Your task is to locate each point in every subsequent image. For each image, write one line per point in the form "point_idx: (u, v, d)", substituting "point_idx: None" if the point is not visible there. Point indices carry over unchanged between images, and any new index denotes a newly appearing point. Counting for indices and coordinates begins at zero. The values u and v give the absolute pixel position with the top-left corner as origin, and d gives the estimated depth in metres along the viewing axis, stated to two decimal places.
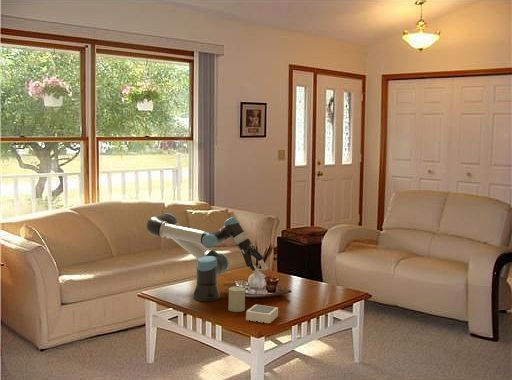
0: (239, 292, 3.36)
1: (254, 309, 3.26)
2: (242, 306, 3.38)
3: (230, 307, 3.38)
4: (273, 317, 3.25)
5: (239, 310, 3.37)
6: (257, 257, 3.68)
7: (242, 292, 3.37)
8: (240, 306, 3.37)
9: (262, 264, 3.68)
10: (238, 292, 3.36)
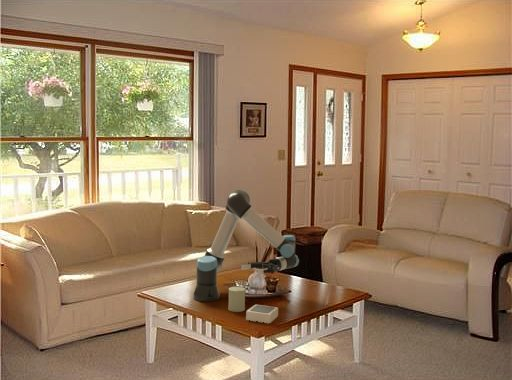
0: (239, 292, 3.36)
1: (254, 309, 3.26)
2: (242, 306, 3.38)
3: (230, 307, 3.38)
4: (273, 317, 3.25)
5: (239, 310, 3.37)
6: (254, 266, 3.56)
7: (242, 292, 3.37)
8: (240, 306, 3.37)
9: (247, 267, 3.53)
10: (238, 292, 3.36)
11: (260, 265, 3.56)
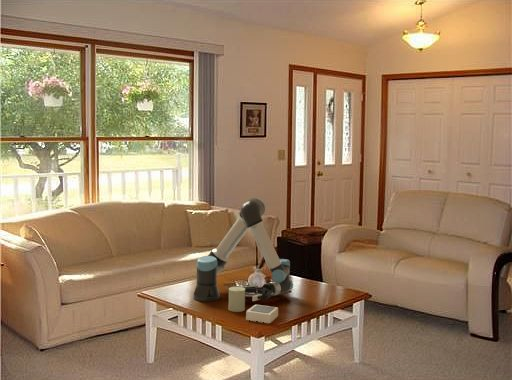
0: (239, 292, 3.36)
1: (254, 309, 3.26)
2: (242, 306, 3.38)
3: (230, 307, 3.38)
4: (273, 317, 3.25)
5: (239, 310, 3.37)
6: (248, 290, 3.54)
7: (242, 292, 3.37)
8: (240, 306, 3.37)
9: None
10: (238, 292, 3.36)
11: (254, 290, 3.54)
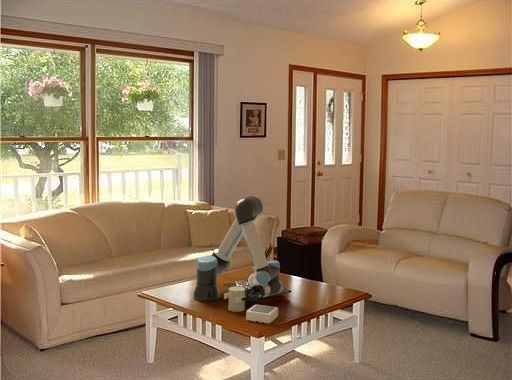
0: (239, 292, 3.36)
1: (254, 309, 3.26)
2: (242, 306, 3.38)
3: (230, 307, 3.38)
4: (273, 317, 3.25)
5: (239, 310, 3.37)
6: None
7: (242, 292, 3.37)
8: (240, 306, 3.37)
9: None
10: (238, 292, 3.36)
11: None
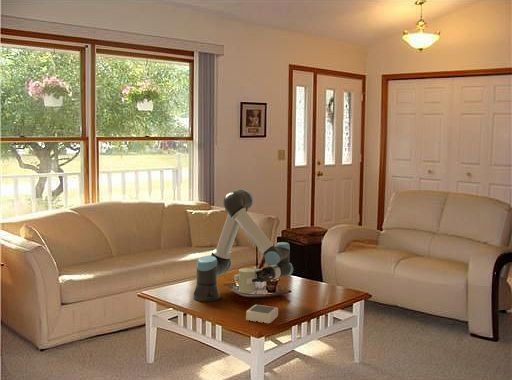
0: (249, 273, 3.31)
1: (254, 309, 3.26)
2: (253, 287, 3.33)
3: (240, 288, 3.33)
4: (273, 317, 3.25)
5: (250, 291, 3.32)
6: None
7: (252, 273, 3.32)
8: (250, 287, 3.32)
9: None
10: (248, 273, 3.30)
11: None
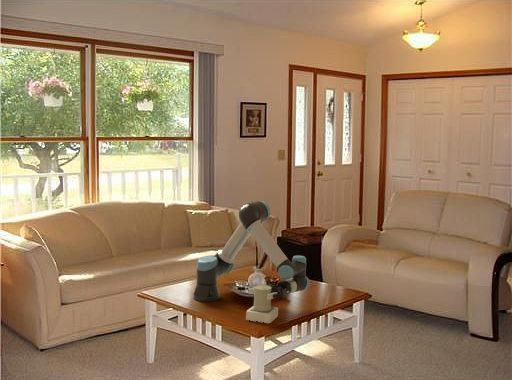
0: (265, 291, 3.22)
1: None
2: (268, 305, 3.24)
3: (256, 306, 3.24)
4: (273, 317, 3.25)
5: (265, 309, 3.23)
6: None
7: (268, 291, 3.23)
8: (266, 305, 3.23)
9: None
10: (264, 291, 3.22)
11: None
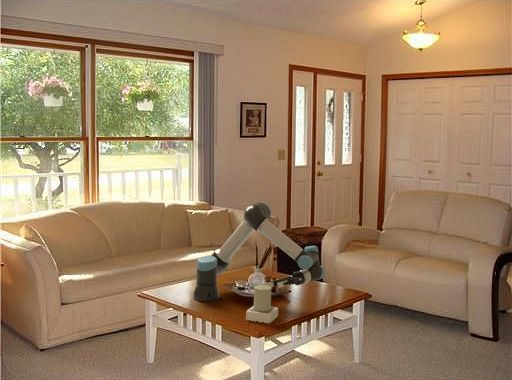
0: (265, 291, 3.22)
1: None
2: (268, 305, 3.24)
3: (256, 306, 3.24)
4: (273, 317, 3.25)
5: (265, 309, 3.23)
6: (277, 282, 3.45)
7: (268, 291, 3.23)
8: (266, 305, 3.23)
9: (269, 285, 3.42)
10: (264, 291, 3.22)
11: (283, 281, 3.44)
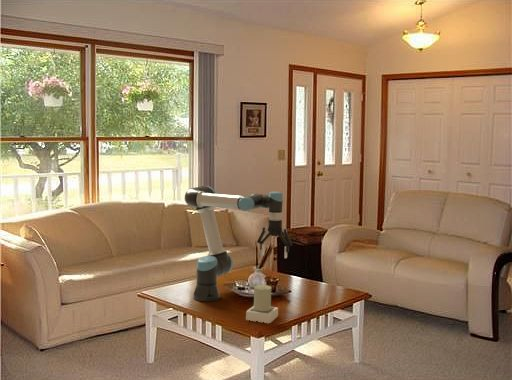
0: (265, 291, 3.22)
1: None
2: (268, 305, 3.24)
3: (256, 306, 3.24)
4: (273, 317, 3.25)
5: (265, 309, 3.23)
6: None
7: (268, 291, 3.23)
8: (266, 305, 3.23)
9: None
10: (264, 291, 3.22)
11: None
